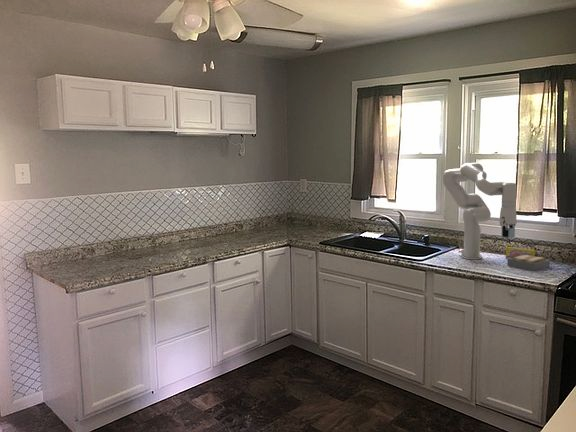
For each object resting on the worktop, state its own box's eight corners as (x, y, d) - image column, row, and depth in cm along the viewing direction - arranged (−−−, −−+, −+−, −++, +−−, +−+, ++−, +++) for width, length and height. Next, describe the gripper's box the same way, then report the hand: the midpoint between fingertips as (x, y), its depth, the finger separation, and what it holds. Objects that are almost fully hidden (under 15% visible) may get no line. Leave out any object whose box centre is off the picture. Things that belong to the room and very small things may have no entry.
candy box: (504, 260, 302) (505, 246, 301) (506, 259, 303) (506, 246, 302) (533, 264, 291) (534, 250, 290) (534, 263, 292) (535, 249, 291)
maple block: (512, 265, 282) (512, 257, 281) (523, 262, 289) (524, 254, 288) (533, 269, 272) (533, 261, 272) (544, 266, 279) (544, 258, 279)
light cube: (501, 236, 284) (501, 228, 284) (506, 235, 287) (506, 227, 286) (509, 237, 280) (509, 228, 279) (514, 236, 283) (514, 228, 282)
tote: (507, 267, 283) (507, 259, 282) (522, 263, 292) (522, 255, 291) (534, 272, 270) (535, 264, 269) (549, 268, 279) (550, 259, 278)
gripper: (511, 203, 289) (510, 234, 291) (494, 205, 280) (493, 237, 282) (523, 203, 283) (522, 235, 285) (506, 206, 274) (505, 238, 276)
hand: (508, 235), depth 283 cm, fingers closed on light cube, 4 cm apart
